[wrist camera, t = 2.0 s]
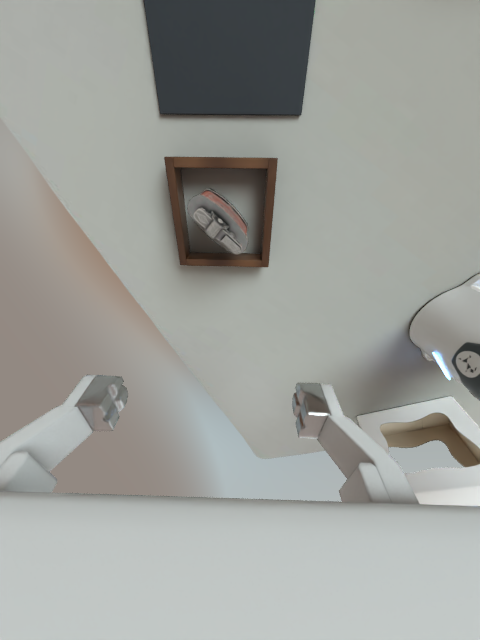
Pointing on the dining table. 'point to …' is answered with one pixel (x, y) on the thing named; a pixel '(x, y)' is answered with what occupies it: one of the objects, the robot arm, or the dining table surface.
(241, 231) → the lighter
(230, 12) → the mat
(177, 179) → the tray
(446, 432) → the gable box
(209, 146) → the dining table surface
